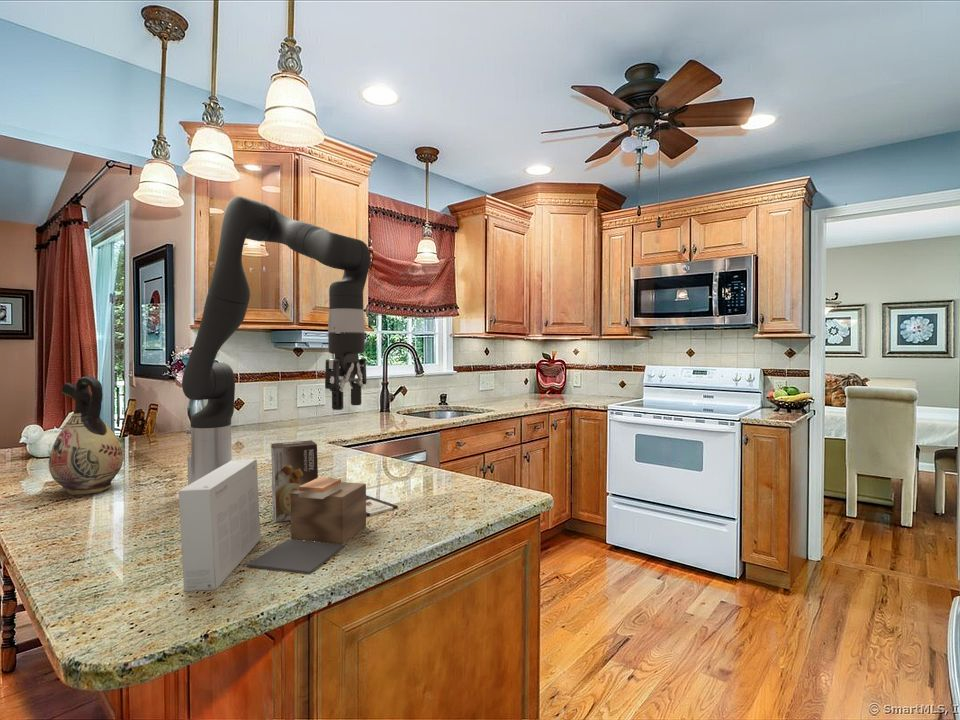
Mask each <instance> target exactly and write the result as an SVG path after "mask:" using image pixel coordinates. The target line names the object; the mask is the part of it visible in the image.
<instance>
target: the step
mask: <svg viewBox="0 0 960 720" xmlns="http://www.w3.org/2000/svg"><path fill="white" fill-rule="evenodd" d="M366 495H367V483H364V482H363V483H361V482H346V481H345V482H344V481H343V482H342V481H341V489H340V490H338V491H337V492H335V493H333V494H331V495H329V496H327V497H325V498H324V499H316V498H303V497H299V490H297V491H295V492H292V493H291V520H290V539H292V540H302V541H303V540H305V541H313V542H314V541H315V542H323V543H333V544H344V545H345V544H346V542H348V541H349V540H350V539H352V538H353V537H354V536H356V535H357V534H359V533H360V532H361V531H362V530H364V529H365V528H367V517H366Z"/></svg>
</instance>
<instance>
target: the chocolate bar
mask: <svg viewBox="0 0 960 720" xmlns="http://www.w3.org/2000/svg"><path fill="white" fill-rule="evenodd" d="M396 508H397V509H399V507H398V505H397V504H393V503H390V502H387V501H385V500H382V499H378V498H375V497H372V496H369V495H367V494H366V516H368V517H371V516H373V515H374V514H375V515H377V514H378V513H379V514H382V513H385V511H386V512H389V510H390V511H393V510H396ZM392 509H393V510H392ZM381 512H382V513H381ZM379 514H378V515H379ZM370 515H371V516H370Z"/></svg>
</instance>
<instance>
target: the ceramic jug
mask: <svg viewBox="0 0 960 720" xmlns="http://www.w3.org/2000/svg"><path fill="white" fill-rule="evenodd" d="M89 388H90V389H89ZM89 390H90V391H89ZM103 393H104V392H103V385H102V383H101V381H100V380H99V379H97V378H95V377H94V376H91V375H85V376H82V377H80V378H78V379H77V381H76V384H75V385H74V384H72V383H71V382H66V383H64V385H63V386H61V394H63V395H64V396H67V397H70V398H72V399H73V400H74V402H75V403H74V411H73V412H72V415H71V417H70V418H69V419H68V420H67V422H66V423H65V424H64V426H63V427H62V429H61V431H60V432H59V434H57V437H56V438H55V441H54V442H53V445H52V447H51V450H50V455H49V460H48V470H49V473H50V476H51V477H52V479H53V480H54V481H55V482H56V483H58V484H59V485H60V486H61V487H62V488H63V489H64V490H65V491H66V493H67V494H68V495H70V496H71V495H73V496H75V495H88V494H94V493H101V492H103V491H105V490H108V489H110V488H111V487H112V481H113V479H115V477H117V475H118V474H119V472H121V471H120V470H121V469H122V467H123V463H124V454H123V450H122V449H123V448H122V446H121V443H120V441H119V439H118V437H117V436H116V434H115V433H114V432H113V430H112V429H111V428H110V427H109V425H108V424H107V423H106V422H105V421H103V420H102V417H101V411H102V403H103V402H102V401H103V397H104V396H103V395H104V394H103Z"/></svg>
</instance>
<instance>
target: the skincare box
mask: <svg viewBox="0 0 960 720" xmlns="http://www.w3.org/2000/svg"><path fill="white" fill-rule="evenodd" d="M258 480H259V479H258V460H257V459H256V458H255V459H254V458H253V459H251V458H250V459H234V460H233V459H232V460H231V461H230V462H228V463H226V464H224V465H223V466H221V467H219V468H217V469H215V470H214V471H212V472H210V473H209V474H207V475H205V476H203V477H202V478H200V479H198V480H196V481H195V482H193V483H191V484H190V485H188V484H187V485H186V486H184V487H182V488H181V489H179V490H178V504H179V524H180V525H179V527H180V540H181V541H180V542H181V557H182V558H181V562H182V564H181V565H182V579H183V581H182V582H183V583H182V584H183V592H195V591H213V590H214V591H215V590H217V589H218V588H219V587H220V586H221V585H222V583H224V581H225V580H226V579H227V578H228V577H230V575H231V573H232V572H233V571H234V570H235V569H236V568H237V567H238V566H239V564H241V562H242V561H243V560H244V559H245V557H246V556H247V555H249V553H250V552H252V550H253V549H254V547H256V545H257V544H258V543H259V542H260V540H261V539H262V536H261V534H262V533H261V522H260V521H261V520H260V501H259V500H260V499H259V481H258Z"/></svg>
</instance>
